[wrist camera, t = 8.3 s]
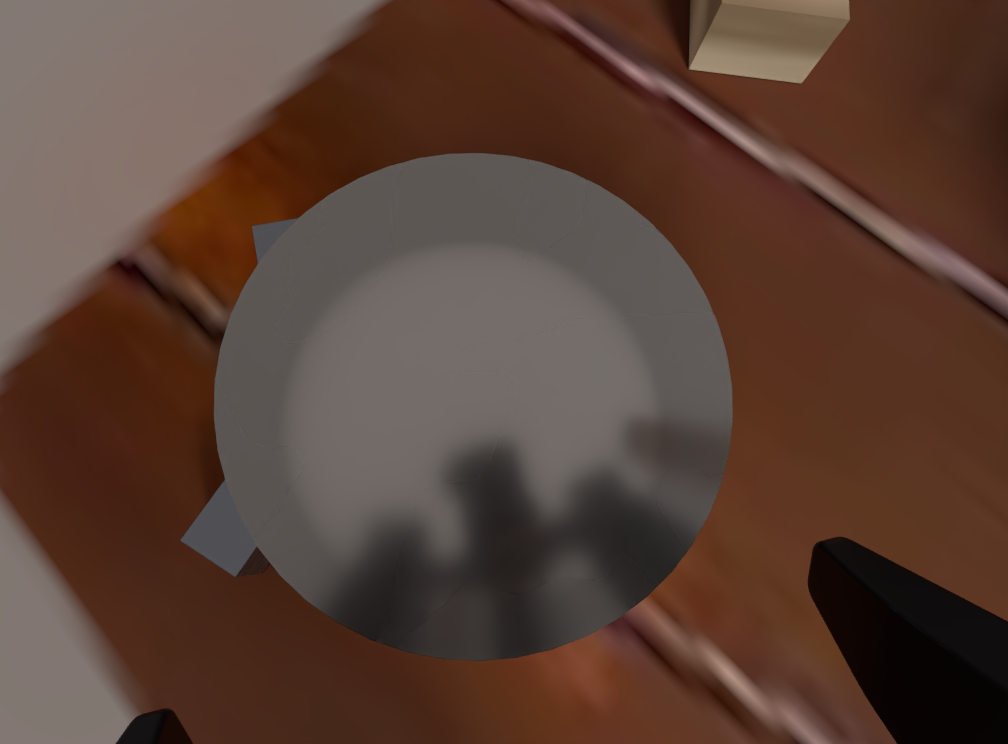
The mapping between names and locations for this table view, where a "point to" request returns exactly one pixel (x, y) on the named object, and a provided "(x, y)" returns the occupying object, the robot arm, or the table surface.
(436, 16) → the table surface
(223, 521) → the grey flat branched piece
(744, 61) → the beam
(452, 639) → the grey metallic cylinder
